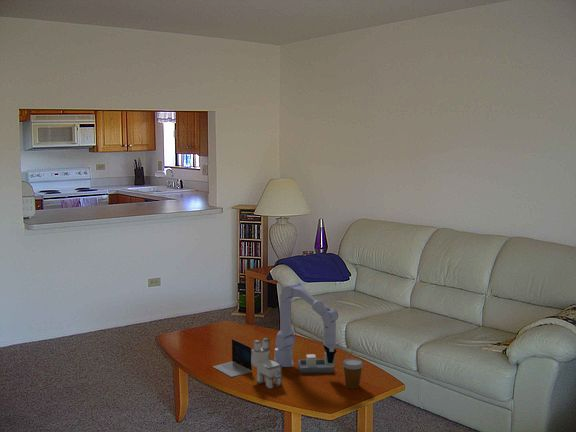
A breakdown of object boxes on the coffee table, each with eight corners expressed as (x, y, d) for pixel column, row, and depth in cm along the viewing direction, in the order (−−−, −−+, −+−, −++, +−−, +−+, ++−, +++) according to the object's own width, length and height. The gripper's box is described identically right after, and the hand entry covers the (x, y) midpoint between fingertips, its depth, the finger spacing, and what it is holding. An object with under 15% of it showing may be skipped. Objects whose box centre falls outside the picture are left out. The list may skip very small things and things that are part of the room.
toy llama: (272, 390, 307) (271, 349, 305) (251, 379, 321) (250, 339, 318) (284, 386, 312) (284, 346, 309) (263, 375, 326) (263, 336, 323)
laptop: (212, 367, 337) (211, 343, 336) (232, 362, 345) (232, 338, 343) (231, 378, 323) (230, 352, 322) (252, 372, 331) (251, 347, 329)
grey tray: (300, 373, 328) (300, 368, 327) (298, 365, 340) (298, 359, 339) (333, 372, 329) (334, 367, 329) (330, 364, 341) (330, 358, 340)
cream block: (307, 368, 332) (307, 357, 331) (306, 365, 336) (306, 354, 335) (315, 368, 332) (315, 357, 331) (315, 365, 336) (315, 354, 336)
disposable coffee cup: (357, 391, 306) (357, 366, 304) (339, 387, 311) (339, 363, 309) (366, 384, 314) (366, 360, 312) (348, 380, 319) (348, 357, 317)
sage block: (325, 365, 320) (325, 353, 319) (324, 362, 324) (324, 350, 323) (334, 365, 320) (334, 353, 319) (333, 362, 324) (333, 350, 324)
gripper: (340, 338, 313) (339, 366, 315) (335, 329, 327) (335, 355, 329) (325, 339, 313) (325, 366, 314) (321, 329, 327) (321, 356, 329)
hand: (329, 361), depth 322 cm, fingers closed on sage block, 4 cm apart
